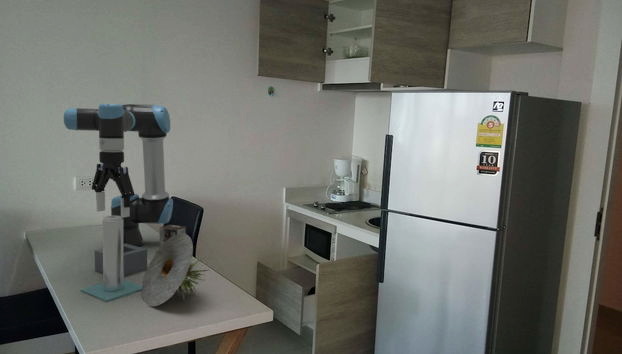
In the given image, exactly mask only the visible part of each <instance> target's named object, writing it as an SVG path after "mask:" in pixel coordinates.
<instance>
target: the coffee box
mask: <svg viewBox="0 0 622 354" xmlns="http://www.w3.org/2000/svg"><path fill="white" fill-rule="evenodd" d="M180 233H184V234H187V235H188V227H187V226H182V225H175V224H167V225H164V226H161V227H159V248H160V247H161V246H162V245H163V244H164V243H165V242H166V241H167V240H168V239H169V238H171V237H172V236H174V235H176V234H180Z"/></svg>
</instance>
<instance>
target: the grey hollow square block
mask: <svg viewBox="0 0 622 354" xmlns="http://www.w3.org/2000/svg"><path fill="white" fill-rule="evenodd" d="M123 260H124V277H127V276H130V275H133V274H137V273H140V272H144V271H146V270H147V268H148V249H146V248H142V247H141V246H140V247H136V246H133V245H130V244H123ZM94 271H95V272H97V273H100V274H103V248H99V249H96V250H95V249H94Z"/></svg>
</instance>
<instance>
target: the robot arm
mask: <svg viewBox="0 0 622 354" xmlns="http://www.w3.org/2000/svg"><path fill="white" fill-rule="evenodd" d="M63 123H64V126H65V127H66V129H68V130H73V131H93V132H94V131H95V132H96V131H97V132H98V138H99V140H98V143H99V145H98V147H99V150H100V151H99V154H98V155H99V163H96V169H95V170H96V171H95V174H94V178H93V182H92V184H91V190H94V192H95V200H96V212H99V213H100V212H104V211H106V194H105V193H106V192H105V191H106V190H105V188H106V186H107V185H108V183H109V181H110V180H112V181H113V182H114V183H115V185H116V187H117V189H118V191H119V193H120V194H121V195H118V196H115V197H112V199H111V205H110V209H111V210H110V212H111V213H110V214H111V215H110V216H121V218H122V219H123V244H130V245H133V246H136V247H140V248H141V247H142V246H143V244H144V239H143V235H142V233H141V230H140V225H139V224H154V225H155V224H157V225H159V224H161V225H162V224H163V225H164V224H168V223H169V222H170V220H171V219H172V214H173V208H174V199H173V198H171V197H170V195H169V193H168V192H167V190H166V181H165V179H166V178H165V157H164V156H165V154H164V153H165V152H164V140H165V138H167V134H168V133H170V131H171V117H170V113H169V111H168V109H167V108H166V107H165V106H163V105H159V104H158V105H157V104H138V103H137V104H133V103H127V104H121V103H120V104H119V103H101V104H99V105H98V108H80V107H79V108H77V107H74V108H73V107H72V108H71V107H69V108H66V110H65V111H64V113H63ZM126 132H138V137H139V139H141V141H142V153H143V155H142V156H143V157H142V158H143V175H144V176H143V179H144V192H143V193H142V195H141V197H140V196H139V194H138V193H135V191H134V188H133V184H132V180H131V178H130V175H129V166H122V164H123V163H124V162H125V152H124V151H123V150H125V136H124V135H125V133H126Z"/></svg>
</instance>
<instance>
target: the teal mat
mask: <svg viewBox="0 0 622 354" xmlns="http://www.w3.org/2000/svg"><path fill="white" fill-rule="evenodd" d="M80 292H81V293H83V294H87V295H88V296H91V297H93V298H96V299H99V300H100V301H103V302H105V303H107V302H111V301H114V300H117V299H121V298H123V297H126V296H130V295H132V294H134V293H138V292H142V285H141V284H138V283H136V282H133V281H129V280H127V279H124V288H123V289H121V290H119V291H113V292H109V291H105V290H103V282H101V283H98V284H95V285H94V284H93V285H91V286H87V287H84V288H80Z"/></svg>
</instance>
